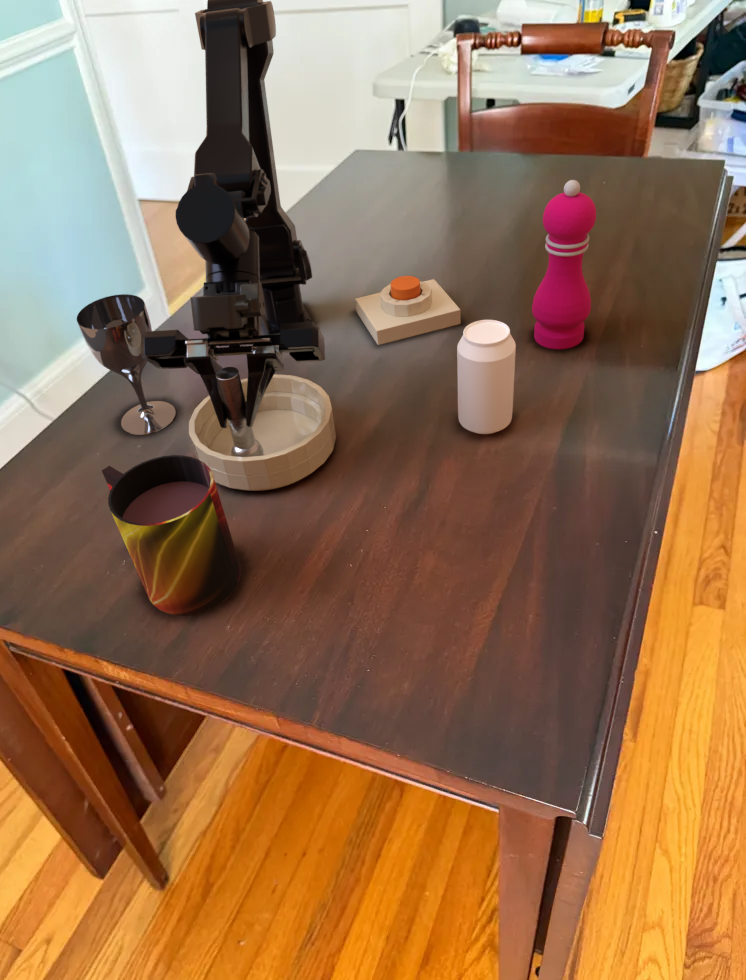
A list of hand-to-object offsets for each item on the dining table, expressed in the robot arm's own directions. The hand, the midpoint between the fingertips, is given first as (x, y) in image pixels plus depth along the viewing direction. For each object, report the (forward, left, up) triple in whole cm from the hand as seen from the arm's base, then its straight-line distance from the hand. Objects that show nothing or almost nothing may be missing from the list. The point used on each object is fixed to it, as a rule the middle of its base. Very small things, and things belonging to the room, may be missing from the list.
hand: (236, 427), depth 83 cm
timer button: (-26, +28, -4) cm, 39 cm away
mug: (+11, -10, -8) cm, 17 cm away
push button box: (-26, +28, -8) cm, 39 cm away
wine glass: (-18, -10, -8) cm, 22 cm away
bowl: (-5, +3, -8) cm, 10 cm away
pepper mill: (-12, +44, -8) cm, 47 cm away
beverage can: (0, +28, -8) cm, 29 cm away
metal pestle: (-2, +1, -7) cm, 7 cm away
